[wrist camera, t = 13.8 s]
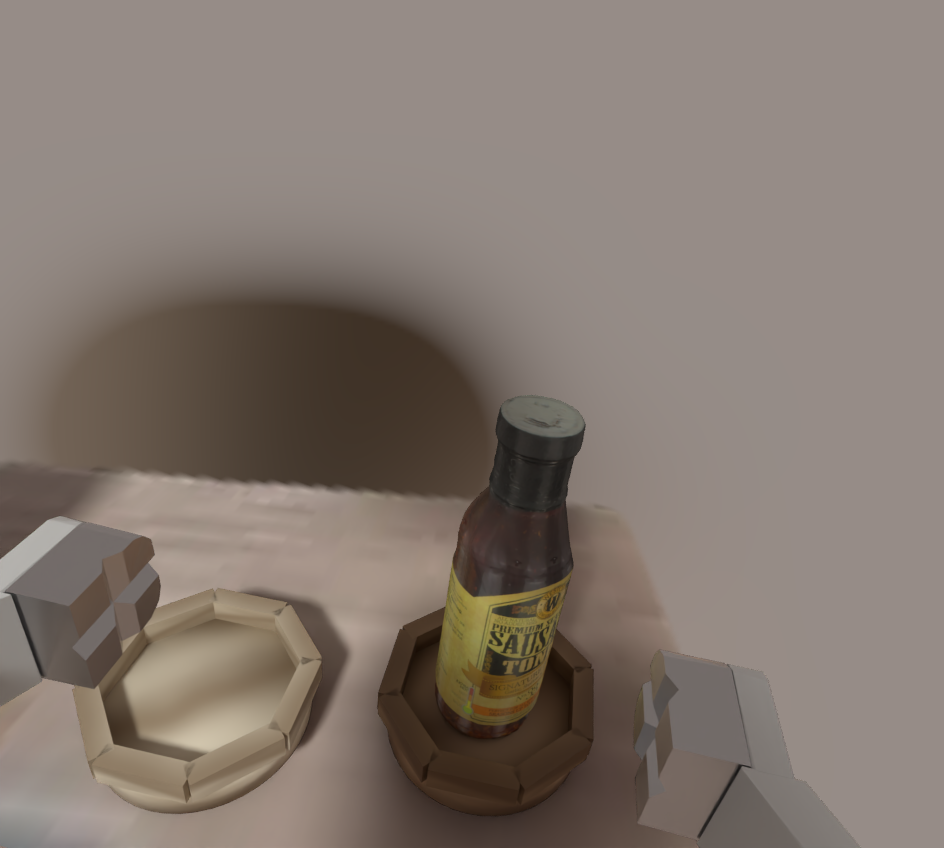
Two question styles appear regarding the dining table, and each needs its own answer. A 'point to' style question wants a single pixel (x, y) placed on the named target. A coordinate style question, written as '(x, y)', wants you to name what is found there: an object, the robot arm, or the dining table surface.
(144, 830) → the dining table surface
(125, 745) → the birch ring seat
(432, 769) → the walnut ring seat
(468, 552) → the sauce bottle
